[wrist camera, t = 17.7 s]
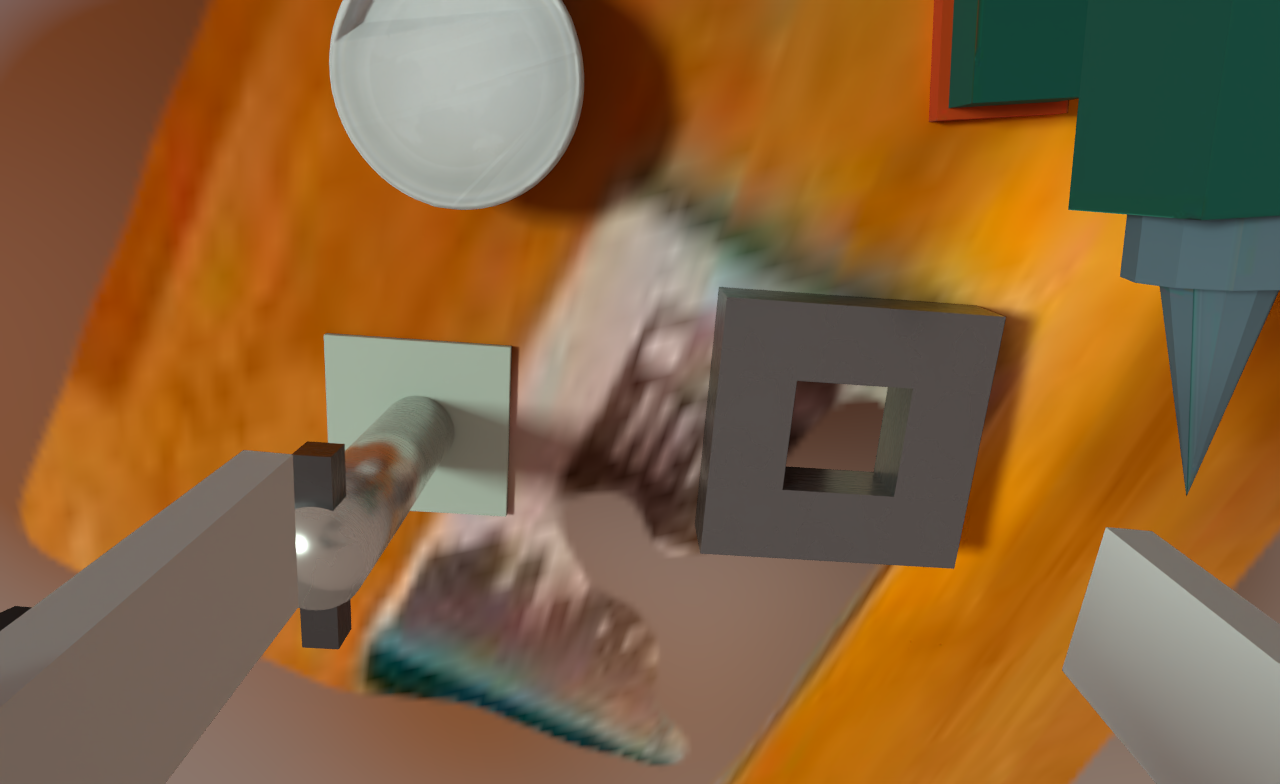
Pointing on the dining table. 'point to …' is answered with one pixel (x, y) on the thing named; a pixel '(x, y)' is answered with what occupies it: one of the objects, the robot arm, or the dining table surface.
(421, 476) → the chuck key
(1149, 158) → the power tool
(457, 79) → the ramekin
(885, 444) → the plate
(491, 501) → the rubber mat
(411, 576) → the dining table surface
